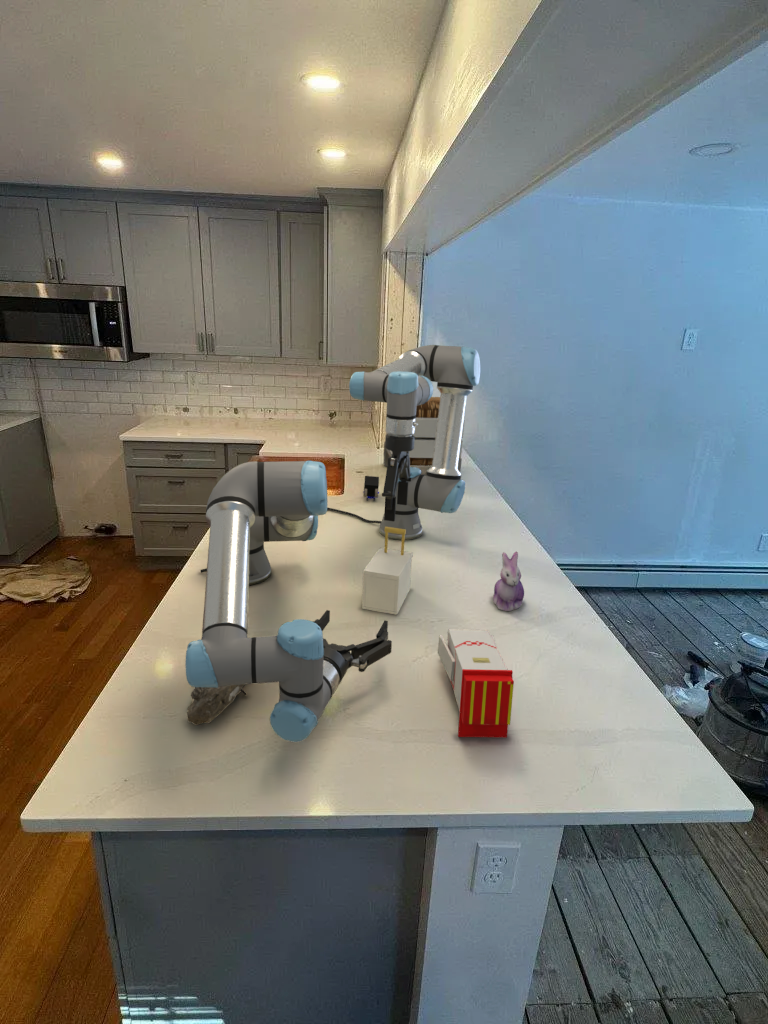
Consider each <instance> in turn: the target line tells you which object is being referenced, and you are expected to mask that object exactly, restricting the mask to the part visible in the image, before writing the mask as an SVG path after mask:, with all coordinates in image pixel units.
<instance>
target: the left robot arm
mask: <svg viewBox="0 0 768 1024" xmlns="http://www.w3.org/2000/svg"><path fill="white" fill-rule="evenodd" d="M328 503H329V502H328V479H327V468H326V466H325V464H324V463H323V462H321V461H314V460H298V461H297V460H293V461H289V460H288V461H284V460H283V461H248V462H244V463H243V462H242V463H240V464H238V465H236V466H235V467H233V468H231V469H230V470H229V471H227V472H226V473H224V475H223V476H222V477H221V478H220V479H219V480H218V481H217V483H216V484H215V486H213V488H212V491H211V493H210V495H209V496H208V499H207V503H206V507H205V521H206V523H207V525H208V526H209V536H208V537H209V538H208V552H207V562H206V563H207V564H206V568H202V569H199V571H200V573H201V574H202V573H206V575H205V577H206V578H205V588H204V589H205V590H204V602H203V603H204V604H203V616H202V628H201V638H200V639H196V640H192V641H190V642H189V643H188V644H187V647H186V650H185V667H184V668H185V677H186V681H187V684H188V685H189V686H191V688H192V687H193V688H195V687H215V688H218V687H219V686H229V685H240V684H244V685H251V684H252V685H253V684H269V683H271V684H272V683H278V691H279V692H278V695H279V697H278V702H276V703H275V704H274V707H273V708H272V711H271V712H270V716H269V724H270V727H271V729H272V731H273V732H274V733H275V735H277V736H278V738H281V739H282V740H284V741H288V742H292V743H299V742H302V741H304V740H306V739H307V738H308V737H309V736H310V734H312V732H313V730H314V729H315V728H316V727H317V725H318V724H319V721H320V719H321V717H322V715H323V713H324V712H325V710H326V708H327V707H328V705H329V703H330V701H331V699H332V698H333V696H334V694H335V692H336V691H337V689H338V688H339V685H340V684H341V683H342V681H343V679H344V677H345V675H346V673H347V671H348V669H350V668H352V667H355V668H358V672H360V673H364V672H365V671H366V670H367V669H368V667H369V666H371V665H373V664H375V663H376V662H378V661H380V660H381V659H383V658H385V657H386V656H388V655H389V654H391V653H392V646H393V645H392V644H393V641H392V640H390V639H389V631H388V627H389V626H388V625H389V621H388V620H387V619H386V620H385V619H384V621H383V622H382V624H381V626H380V627H379V629H378V631H377V633H376V635H375V638H373V639H370V640H367V641H364V642H362V643H358V644H354V643H352V644H349V645H342V644H336V643H329V642H328V640H327V639H326V638H324V633H323V631H324V630H325V628H327V626H328V624H329V623H330V621H331V610H328V609H326V611H324V613H323V614H322V616H320V618H316V619H315V620H314V621H312V620H309V619H303V618H298V619H296V618H295V619H293V620H292V621H286V622H284V623H283V624H281V625H280V627H279V628H278V631H277V634H276V635H268V636H267V635H266V636H252V637H248V634H249V632H248V631H249V593H250V592H249V590H250V588H249V587H250V586H252V585H253V586H254V585H257V584H261V583H262V582H265V581H266V580H268V579H269V578H270V577H271V575H272V567H271V563H270V561H269V558H268V555H267V553H266V550H265V543H270V542H271V543H272V542H307V541H312V540H314V539H315V538H316V536H317V534H318V527H319V516H324V515H326V514H327V512H328V510H327V507H328Z"/></svg>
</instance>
